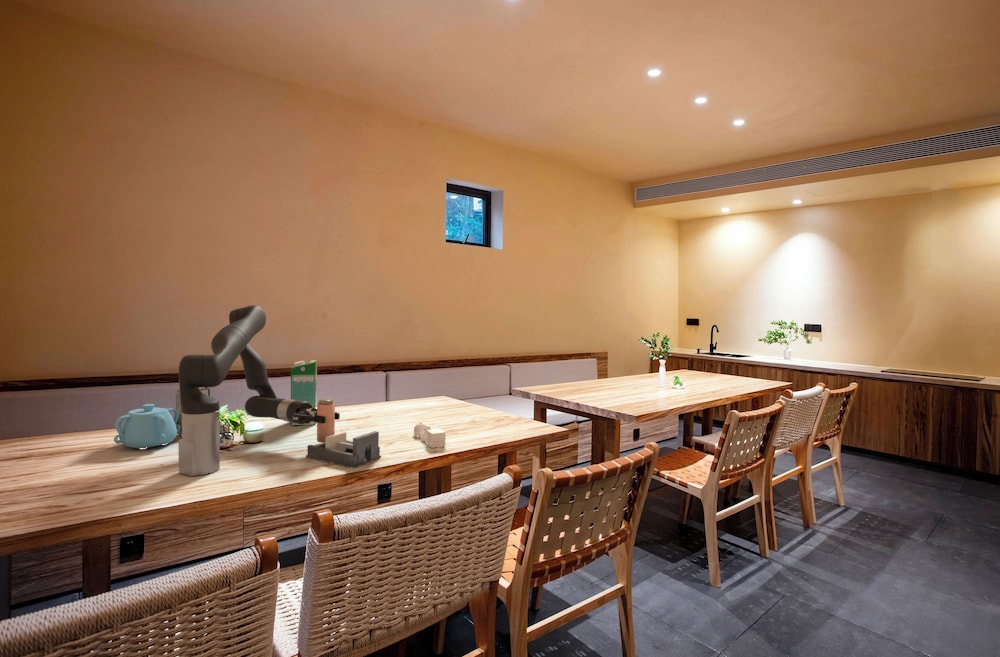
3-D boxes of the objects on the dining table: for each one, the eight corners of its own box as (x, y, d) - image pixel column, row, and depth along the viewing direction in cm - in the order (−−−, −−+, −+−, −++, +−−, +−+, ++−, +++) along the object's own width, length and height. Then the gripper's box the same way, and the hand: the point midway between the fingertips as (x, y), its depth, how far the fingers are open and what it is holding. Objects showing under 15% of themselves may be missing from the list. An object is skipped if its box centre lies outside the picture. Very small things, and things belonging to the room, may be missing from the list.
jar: (325, 443, 158) (325, 402, 157) (313, 440, 161) (313, 400, 160) (338, 439, 163) (338, 400, 162) (325, 436, 165) (326, 398, 165)
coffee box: (211, 431, 184) (211, 388, 183) (199, 436, 177) (198, 391, 176) (188, 430, 185) (187, 387, 184) (175, 435, 178) (174, 390, 177)
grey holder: (353, 468, 148) (354, 439, 148) (305, 457, 158) (306, 430, 157) (380, 457, 159) (381, 431, 159) (334, 447, 168) (334, 422, 168)
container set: (445, 447, 172) (446, 431, 172) (431, 449, 170) (431, 433, 170) (424, 433, 190) (424, 419, 189) (411, 435, 187) (411, 420, 187)
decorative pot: (187, 438, 175) (187, 399, 174) (162, 452, 159) (162, 409, 158) (136, 439, 173) (136, 399, 172) (106, 452, 157) (105, 409, 156)
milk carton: (292, 420, 203) (293, 359, 202) (316, 419, 206) (316, 359, 205) (290, 426, 195) (290, 362, 193) (315, 424, 197) (315, 361, 196)
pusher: (355, 462, 151) (355, 442, 151) (325, 455, 157) (325, 436, 157) (372, 456, 158) (372, 437, 157) (342, 449, 163) (342, 431, 163)
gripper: (276, 404, 161) (314, 410, 154) (311, 396, 174) (348, 402, 166) (276, 426, 162) (314, 434, 154) (311, 418, 174) (348, 425, 167)
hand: (331, 418), depth 160 cm, fingers closed on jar, 5 cm apart
